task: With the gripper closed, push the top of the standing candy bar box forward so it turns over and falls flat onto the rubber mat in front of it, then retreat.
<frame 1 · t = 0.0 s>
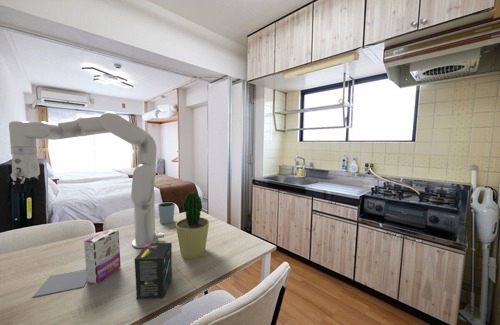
hand: (27, 190, 90), 31 cm above the table, fingers open, 9 cm apart
tampon box: (155, 288, 75), on the table
blue grey cup: (167, 221, 140), on the table
candy bar box: (104, 275, 83), on the table
mat: (66, 281, 78), on the table
potted cactus: (193, 252, 101), on the table
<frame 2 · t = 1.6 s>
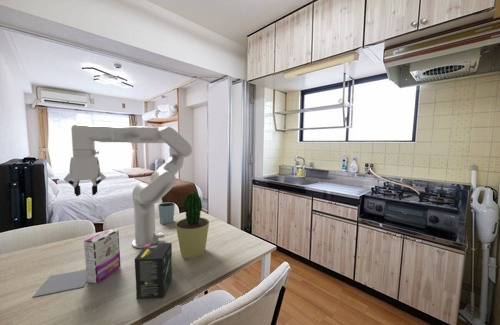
hand: (86, 194, 92), 29 cm above the table, fingers open, 5 cm apart
nothing on the table moved.
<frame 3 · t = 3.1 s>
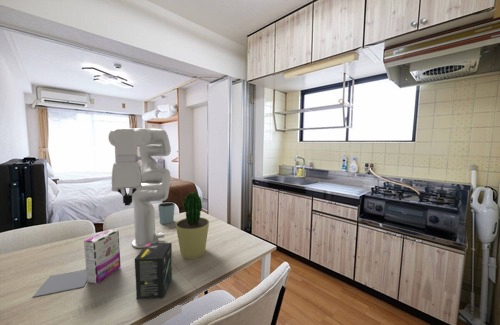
hand: (127, 204, 84), 27 cm above the table, fingers closed
nothing on the table moved.
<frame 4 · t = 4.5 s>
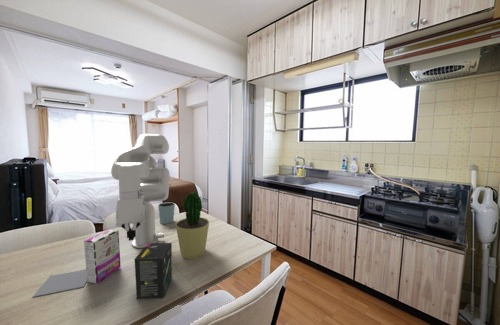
hand: (131, 239, 85), 13 cm above the table, fingers closed
nothing on the table moved.
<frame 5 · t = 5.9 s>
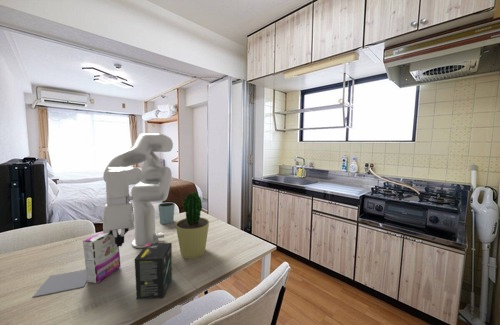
hand: (119, 245, 84), 11 cm above the table, fingers closed
candy bar box: (104, 274, 83), on the table, touching gripper
everything else where it was.
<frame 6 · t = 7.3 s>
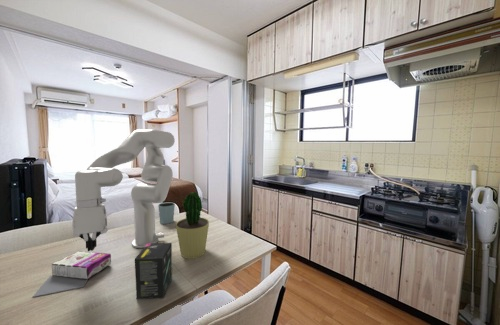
hand: (91, 249, 80), 11 cm above the table, fingers closed
candy bar box: (100, 266, 83), point 3 cm above the table, touching mat
everything else where it was.
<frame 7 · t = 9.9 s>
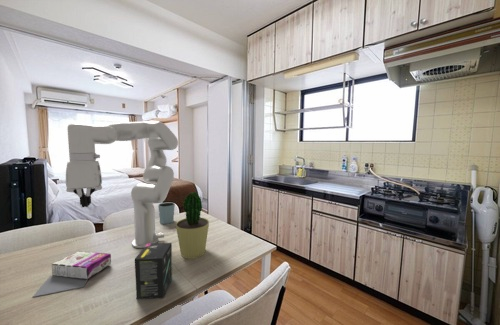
hand: (85, 206, 79), 28 cm above the table, fingers closed
nothing on the table moved.
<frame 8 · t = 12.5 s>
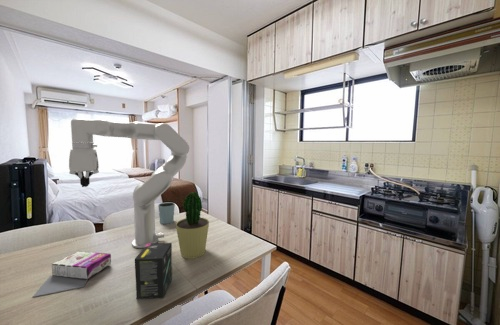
hand: (85, 186, 96), 32 cm above the table, fingers closed
nothing on the table moved.
at the end: candy bar box tilted 91°; candy bar box inside the target area (8.5 cm from its centre), point 2.9 cm above the table; the gripper is holding nothing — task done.
